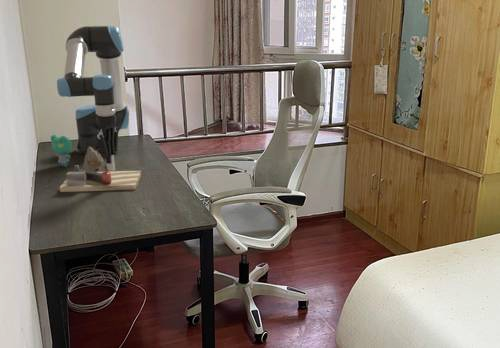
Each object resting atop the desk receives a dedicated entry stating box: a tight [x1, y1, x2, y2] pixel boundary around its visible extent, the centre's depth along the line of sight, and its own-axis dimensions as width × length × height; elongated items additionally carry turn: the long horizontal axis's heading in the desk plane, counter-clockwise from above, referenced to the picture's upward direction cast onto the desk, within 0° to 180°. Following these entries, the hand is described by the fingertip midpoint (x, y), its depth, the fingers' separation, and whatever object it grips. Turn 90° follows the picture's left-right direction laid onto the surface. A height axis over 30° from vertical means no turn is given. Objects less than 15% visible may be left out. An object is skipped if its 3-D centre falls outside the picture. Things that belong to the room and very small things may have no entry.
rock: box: [82, 147, 106, 172], centre depth 225 cm, size 14×10×8 cm
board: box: [59, 164, 142, 193], centre depth 209 cm, size 19×30×7 cm, turn 95°
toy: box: [50, 134, 73, 168], centre depth 231 cm, size 9×8×15 cm
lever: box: [77, 168, 111, 184], centre depth 206 cm, size 4×18×4 cm, turn 59°
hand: (111, 169), depth 206 cm, fingers closed
